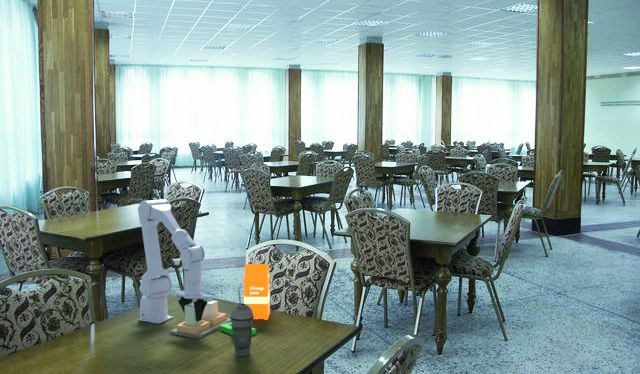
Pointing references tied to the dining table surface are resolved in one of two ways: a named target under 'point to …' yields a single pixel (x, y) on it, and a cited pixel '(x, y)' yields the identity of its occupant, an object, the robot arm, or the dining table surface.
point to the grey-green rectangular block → (211, 310)
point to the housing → (201, 327)
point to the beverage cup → (242, 327)
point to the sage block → (191, 316)
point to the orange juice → (257, 289)
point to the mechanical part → (229, 329)
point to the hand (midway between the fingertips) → (193, 319)
